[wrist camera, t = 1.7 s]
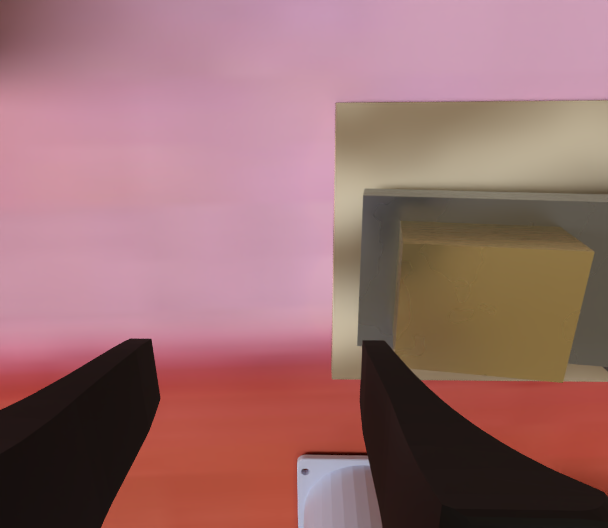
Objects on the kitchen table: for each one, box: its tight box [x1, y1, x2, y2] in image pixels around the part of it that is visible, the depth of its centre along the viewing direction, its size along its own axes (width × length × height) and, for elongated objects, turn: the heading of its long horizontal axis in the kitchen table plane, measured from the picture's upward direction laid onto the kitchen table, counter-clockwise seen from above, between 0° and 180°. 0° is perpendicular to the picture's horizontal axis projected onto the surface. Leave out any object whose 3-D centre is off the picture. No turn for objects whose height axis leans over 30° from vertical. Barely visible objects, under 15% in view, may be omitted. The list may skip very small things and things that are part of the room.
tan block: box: [393, 221, 594, 383], centre depth 17 cm, size 5×6×3 cm
